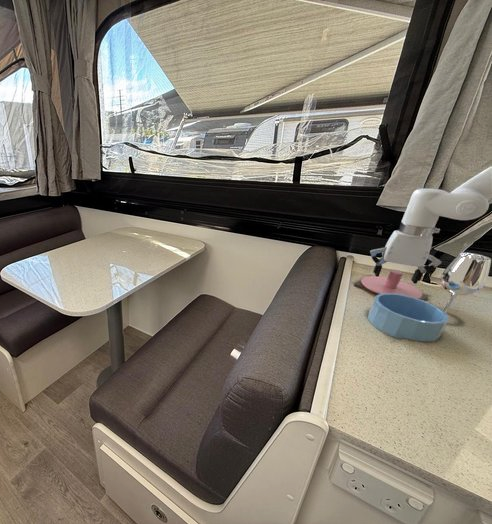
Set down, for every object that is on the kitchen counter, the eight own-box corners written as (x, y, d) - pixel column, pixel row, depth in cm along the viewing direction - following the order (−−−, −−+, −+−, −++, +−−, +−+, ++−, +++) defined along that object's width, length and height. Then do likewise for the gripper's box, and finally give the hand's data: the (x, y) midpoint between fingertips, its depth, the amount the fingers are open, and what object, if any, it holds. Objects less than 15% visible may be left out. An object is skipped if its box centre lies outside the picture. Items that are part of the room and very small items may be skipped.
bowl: (446, 333, 72) (458, 313, 70) (422, 351, 66) (434, 330, 64) (382, 306, 84) (390, 288, 82) (357, 320, 78) (364, 301, 76)
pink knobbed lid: (429, 294, 89) (438, 276, 86) (407, 306, 83) (416, 288, 80) (374, 275, 102) (380, 259, 99) (351, 285, 95) (357, 268, 93)
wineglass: (459, 331, 73) (498, 265, 65) (420, 318, 78) (451, 255, 70) (461, 320, 77) (498, 256, 69) (424, 308, 83) (454, 248, 75)
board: (426, 298, 89) (427, 295, 88) (410, 307, 84) (411, 305, 83) (371, 278, 102) (371, 276, 101) (353, 285, 97) (354, 283, 96)
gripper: (450, 230, 82) (426, 280, 89) (377, 223, 91) (361, 268, 98) (459, 237, 76) (433, 289, 83) (381, 228, 85) (363, 276, 92)
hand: (394, 278), depth 90 cm, fingers open, 9 cm apart
